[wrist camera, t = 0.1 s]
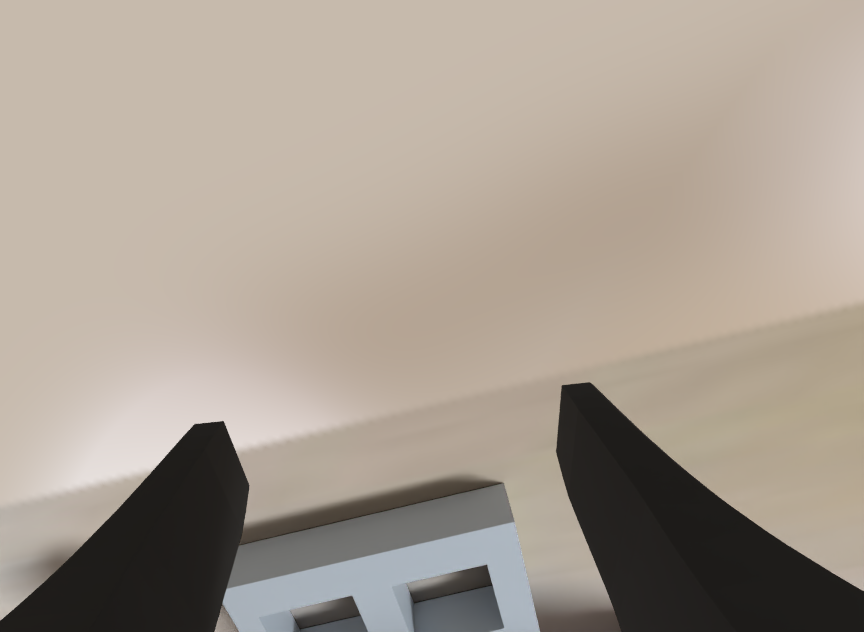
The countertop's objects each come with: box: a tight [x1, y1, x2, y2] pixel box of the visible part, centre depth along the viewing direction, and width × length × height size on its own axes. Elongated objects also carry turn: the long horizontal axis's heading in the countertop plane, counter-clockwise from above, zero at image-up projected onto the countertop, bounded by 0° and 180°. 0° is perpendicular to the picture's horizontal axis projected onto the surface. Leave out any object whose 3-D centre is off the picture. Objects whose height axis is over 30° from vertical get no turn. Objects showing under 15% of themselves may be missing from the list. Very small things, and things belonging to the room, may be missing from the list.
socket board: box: [223, 483, 540, 632], centre depth 26 cm, size 14×9×2 cm, turn 104°
